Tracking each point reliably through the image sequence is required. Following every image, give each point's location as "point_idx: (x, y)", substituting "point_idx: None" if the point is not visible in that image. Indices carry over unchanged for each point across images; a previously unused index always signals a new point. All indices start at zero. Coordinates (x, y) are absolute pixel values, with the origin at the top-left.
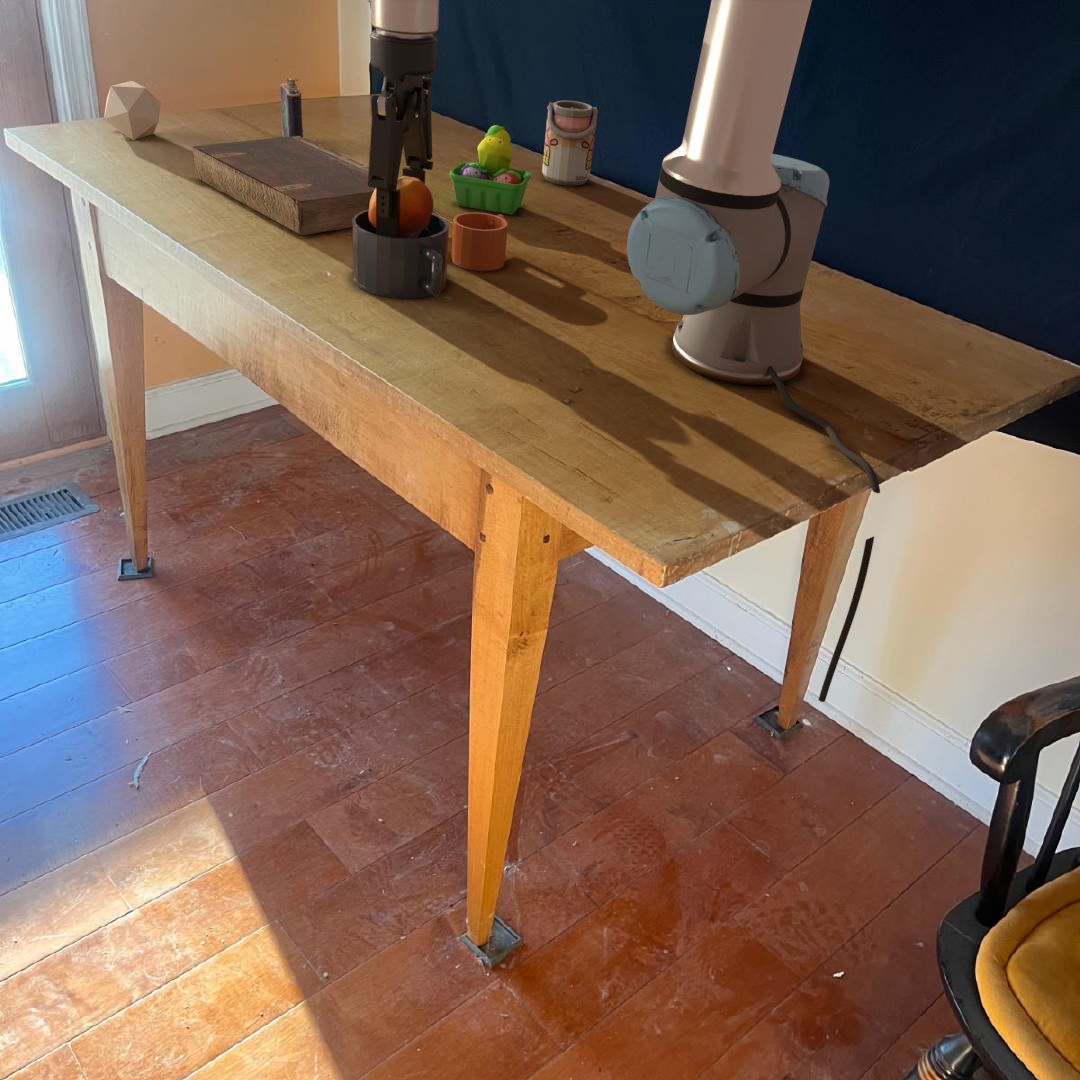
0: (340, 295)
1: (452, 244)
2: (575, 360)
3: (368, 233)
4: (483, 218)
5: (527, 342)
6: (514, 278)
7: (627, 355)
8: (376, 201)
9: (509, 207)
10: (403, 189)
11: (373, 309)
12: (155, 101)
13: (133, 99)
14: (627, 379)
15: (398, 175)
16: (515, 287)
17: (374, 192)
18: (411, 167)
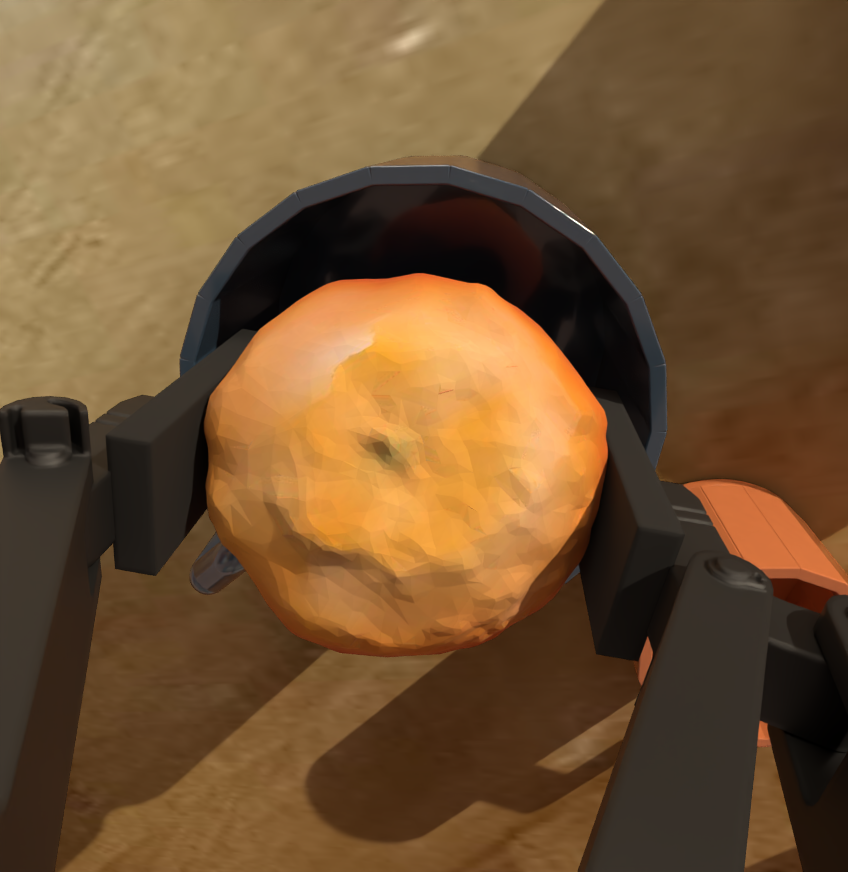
0: (216, 159)
1: (708, 513)
2: (116, 781)
3: (194, 309)
4: None
5: (154, 701)
6: (577, 663)
7: (193, 860)
8: (155, 399)
9: None
10: (251, 567)
11: (157, 306)
12: None
13: None
14: (85, 852)
15: (92, 629)
16: (503, 668)
17: (334, 347)
18: (665, 583)
